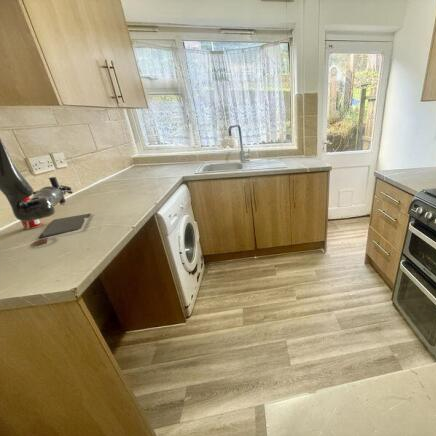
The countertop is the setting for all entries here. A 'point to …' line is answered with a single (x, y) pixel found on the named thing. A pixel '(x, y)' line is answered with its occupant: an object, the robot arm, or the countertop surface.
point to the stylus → (55, 184)
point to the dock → (40, 242)
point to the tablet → (64, 225)
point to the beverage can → (31, 223)
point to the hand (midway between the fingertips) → (58, 187)
